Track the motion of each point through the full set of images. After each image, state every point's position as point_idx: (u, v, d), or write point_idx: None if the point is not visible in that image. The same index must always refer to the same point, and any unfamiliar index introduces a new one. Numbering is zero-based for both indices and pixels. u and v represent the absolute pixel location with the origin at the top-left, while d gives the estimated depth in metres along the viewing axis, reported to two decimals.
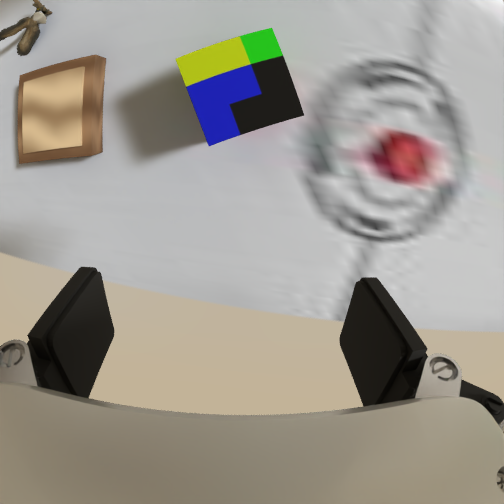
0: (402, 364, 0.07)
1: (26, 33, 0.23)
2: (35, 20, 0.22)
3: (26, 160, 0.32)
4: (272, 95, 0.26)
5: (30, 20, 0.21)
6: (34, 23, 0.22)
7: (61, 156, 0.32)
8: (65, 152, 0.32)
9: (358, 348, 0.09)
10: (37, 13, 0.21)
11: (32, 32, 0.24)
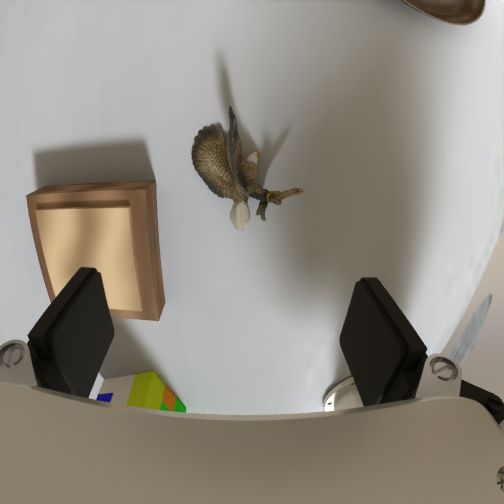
0: (402, 364, 0.07)
1: (224, 171, 0.24)
2: (237, 206, 0.24)
3: (30, 211, 0.23)
4: None
5: (242, 195, 0.24)
6: (234, 199, 0.25)
7: (43, 272, 0.27)
8: (48, 278, 0.27)
9: (358, 348, 0.09)
10: (246, 221, 0.24)
11: (221, 186, 0.25)
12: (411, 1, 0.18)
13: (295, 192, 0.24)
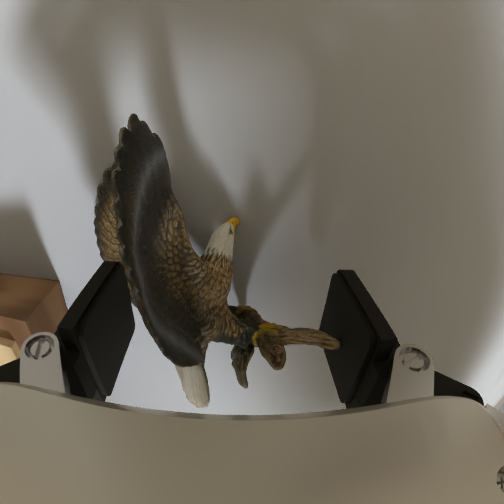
0: (372, 353, 0.07)
1: None
2: None
3: None
4: None
5: None
6: None
7: None
8: None
9: None
10: (202, 400, 0.10)
11: None
12: None
13: (321, 344, 0.09)
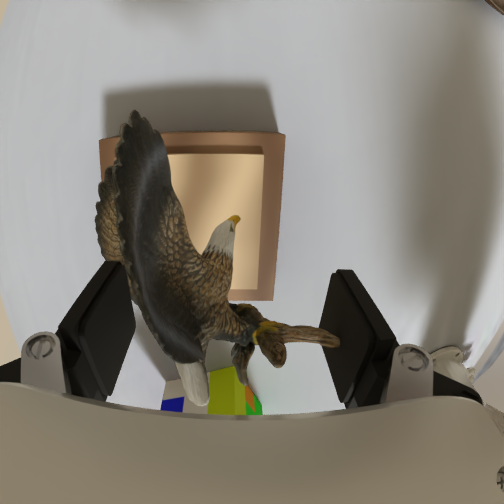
0: (371, 353, 0.07)
1: None
2: None
3: (104, 161, 0.20)
4: None
5: None
6: None
7: None
8: None
9: None
10: (202, 398, 0.10)
11: None
12: None
13: (322, 342, 0.09)
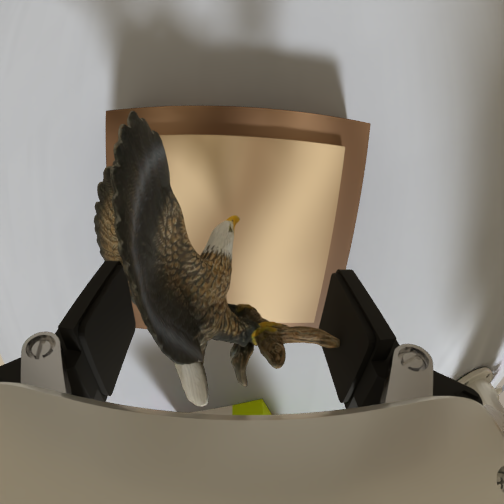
0: (371, 353, 0.07)
1: None
2: None
3: (111, 141, 0.13)
4: None
5: None
6: None
7: None
8: None
9: None
10: (201, 398, 0.10)
11: None
12: None
13: (321, 342, 0.09)
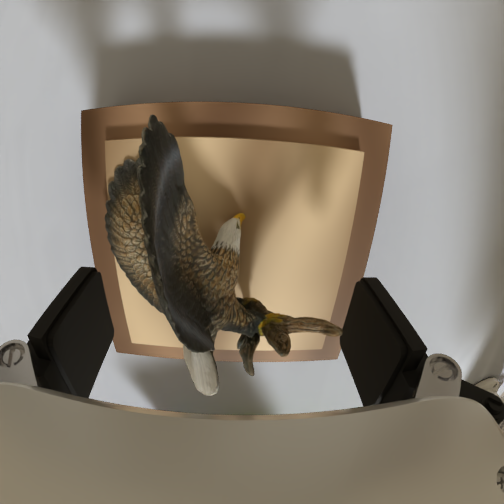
0: (402, 364, 0.07)
1: None
2: (193, 353, 0.11)
3: (87, 146, 0.11)
4: None
5: None
6: None
7: None
8: (113, 295, 0.14)
9: (358, 348, 0.09)
10: (211, 387, 0.10)
11: (159, 300, 0.11)
12: None
13: (324, 331, 0.10)
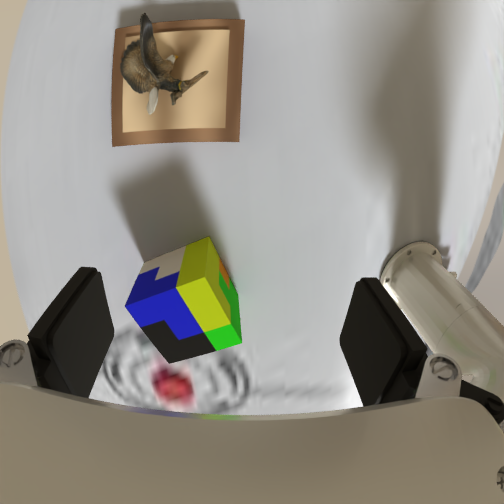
0: (402, 364, 0.07)
1: (142, 68, 0.22)
2: (150, 93, 0.22)
3: (117, 41, 0.23)
4: (178, 346, 0.33)
5: (154, 82, 0.22)
6: (148, 89, 0.22)
7: (113, 101, 0.26)
8: (117, 107, 0.26)
9: (358, 348, 0.09)
10: (155, 102, 0.22)
11: (139, 82, 0.23)
12: None
13: (202, 74, 0.22)
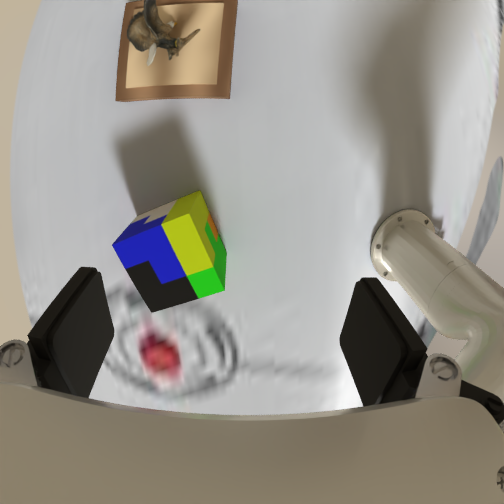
0: (402, 364, 0.07)
1: (145, 30, 0.23)
2: (150, 48, 0.23)
3: (126, 13, 0.24)
4: (161, 291, 0.34)
5: (154, 39, 0.23)
6: (148, 45, 0.24)
7: (120, 62, 0.27)
8: (123, 67, 0.27)
9: (358, 348, 0.09)
10: (153, 54, 0.23)
11: (142, 41, 0.24)
12: None
13: (194, 32, 0.23)
